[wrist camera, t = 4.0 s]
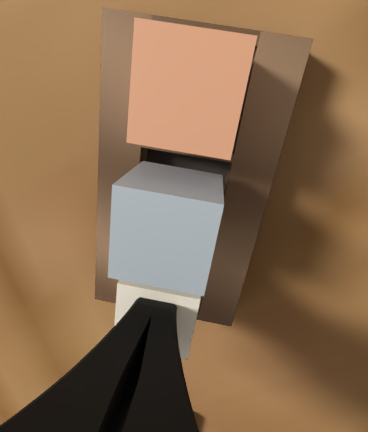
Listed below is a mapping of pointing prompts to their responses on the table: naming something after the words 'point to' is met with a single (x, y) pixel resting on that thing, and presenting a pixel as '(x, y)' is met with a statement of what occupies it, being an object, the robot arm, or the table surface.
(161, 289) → the cream cube
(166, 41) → the key terracotta
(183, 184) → the key slate
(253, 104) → the brown flat frame
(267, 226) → the table surface
